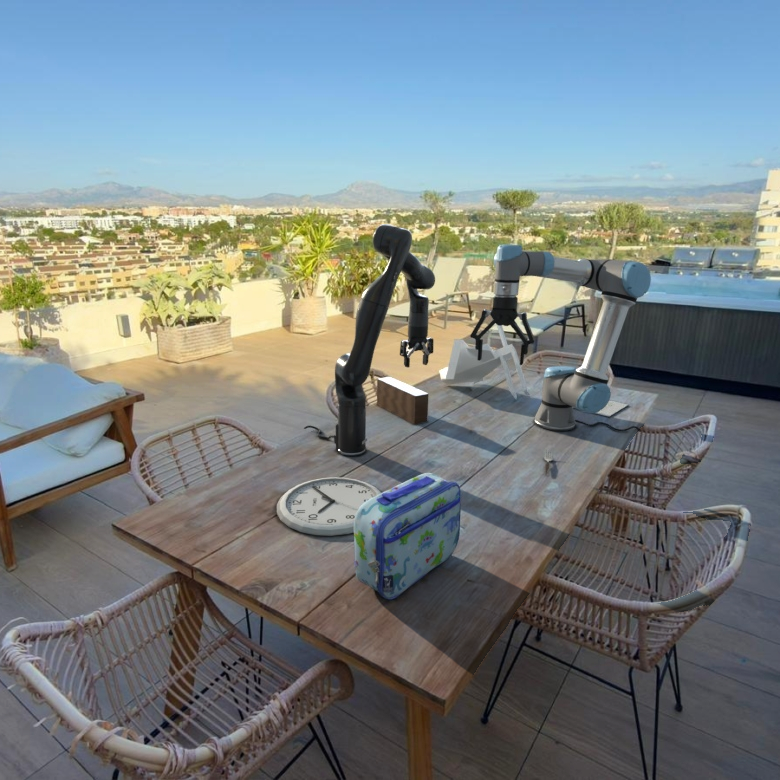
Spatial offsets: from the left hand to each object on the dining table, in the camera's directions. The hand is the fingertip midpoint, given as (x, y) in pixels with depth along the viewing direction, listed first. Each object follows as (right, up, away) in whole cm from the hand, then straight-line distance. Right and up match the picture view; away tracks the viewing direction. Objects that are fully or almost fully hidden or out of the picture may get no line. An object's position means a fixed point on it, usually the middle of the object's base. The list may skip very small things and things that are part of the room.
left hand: (416, 365), depth 201 cm
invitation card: (+81, -17, +26) cm, 87 cm away
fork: (+41, -34, -31) cm, 62 cm away
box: (-6, -19, +14) cm, 24 cm away
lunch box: (-6, -50, -85) cm, 99 cm away
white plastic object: (+32, -10, +43) cm, 54 cm away
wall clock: (-26, -41, -58) cm, 75 cm away
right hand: (+26, 0, -31) cm, 40 cm away
